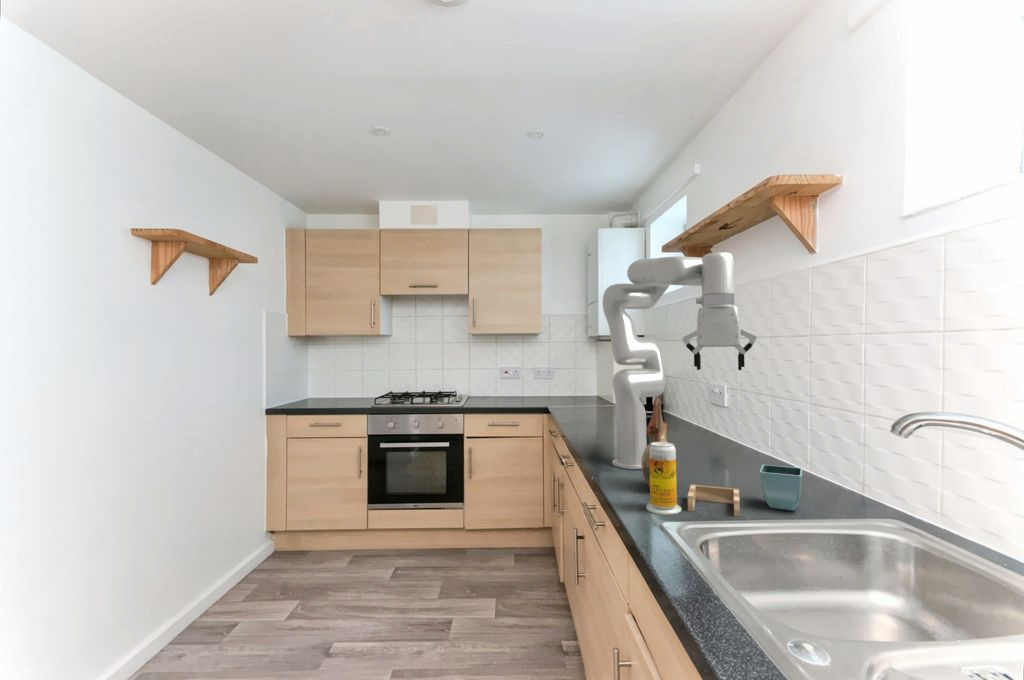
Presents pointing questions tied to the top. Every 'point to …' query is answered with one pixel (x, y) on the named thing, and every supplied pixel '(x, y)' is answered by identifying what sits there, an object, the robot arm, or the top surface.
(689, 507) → the cradle
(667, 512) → the coaster
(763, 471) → the flower pot
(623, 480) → the top surface
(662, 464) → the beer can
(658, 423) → the ceramic vessel
